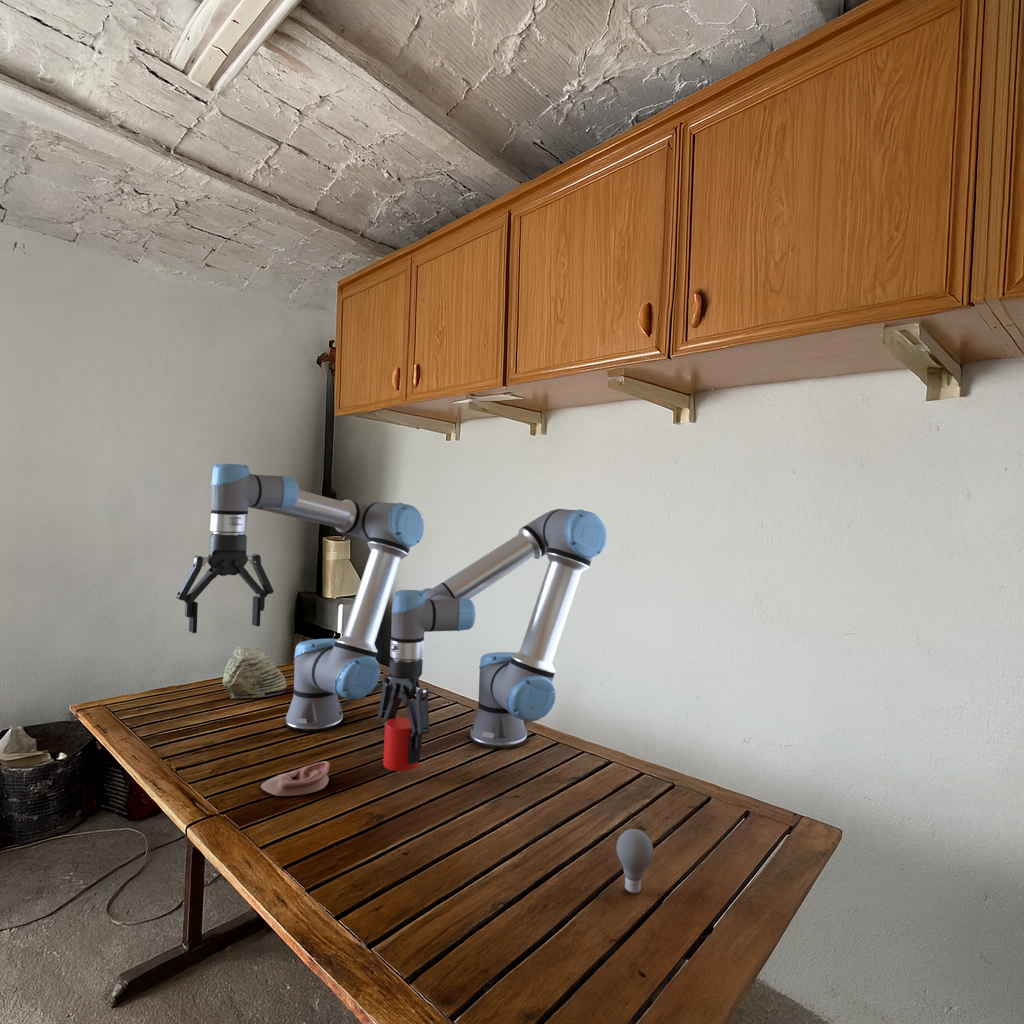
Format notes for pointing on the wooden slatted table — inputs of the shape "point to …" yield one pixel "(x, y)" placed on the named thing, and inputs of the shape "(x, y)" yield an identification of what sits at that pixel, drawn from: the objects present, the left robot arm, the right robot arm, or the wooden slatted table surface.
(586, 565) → the right robot arm
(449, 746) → the wooden slatted table surface
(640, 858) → the light bulb
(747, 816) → the wooden slatted table surface
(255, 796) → the wooden slatted table surface
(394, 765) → the cylinder
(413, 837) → the wooden slatted table surface
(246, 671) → the fossil
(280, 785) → the anatomical model
